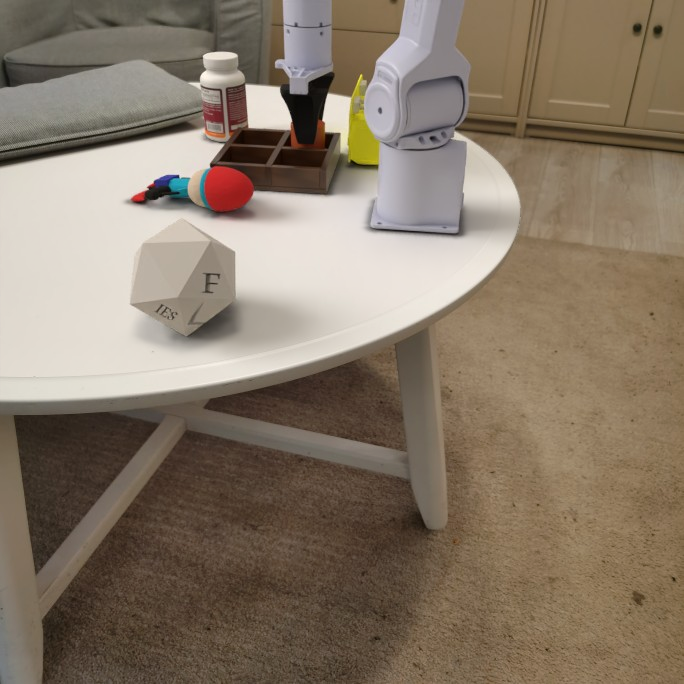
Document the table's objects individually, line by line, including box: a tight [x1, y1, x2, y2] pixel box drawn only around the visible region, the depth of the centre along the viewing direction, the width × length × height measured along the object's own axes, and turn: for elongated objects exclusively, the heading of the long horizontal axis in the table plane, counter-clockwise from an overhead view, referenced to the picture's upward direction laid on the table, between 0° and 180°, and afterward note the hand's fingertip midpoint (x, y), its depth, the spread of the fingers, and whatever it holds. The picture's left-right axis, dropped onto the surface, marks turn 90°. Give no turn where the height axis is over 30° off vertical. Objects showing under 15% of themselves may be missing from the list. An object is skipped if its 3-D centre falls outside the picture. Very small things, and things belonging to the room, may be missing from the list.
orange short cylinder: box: [290, 119, 326, 149], centre depth 91 cm, size 4×4×3 cm
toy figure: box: [130, 166, 255, 212], centre depth 81 cm, size 8×5×15 cm
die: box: [129, 217, 237, 338], centre depth 59 cm, size 8×9×10 cm
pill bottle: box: [199, 51, 250, 143], centre depth 99 cm, size 6×6×11 cm
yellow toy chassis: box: [347, 74, 380, 166], centre depth 96 cm, size 16×6×8 cm, turn 173°
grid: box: [209, 127, 342, 195], centre depth 90 cm, size 14×14×3 cm
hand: (309, 137), depth 91 cm, fingers closed on orange short cylinder, 4 cm apart
